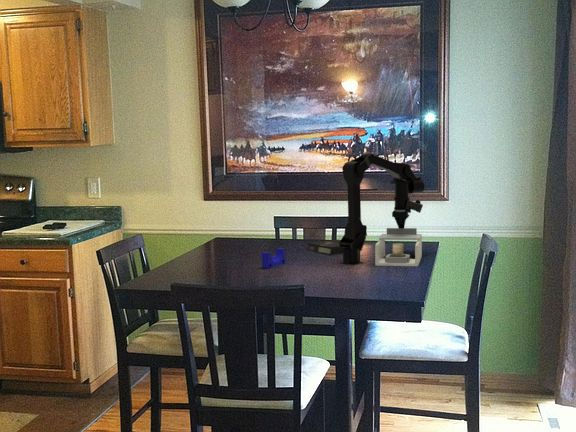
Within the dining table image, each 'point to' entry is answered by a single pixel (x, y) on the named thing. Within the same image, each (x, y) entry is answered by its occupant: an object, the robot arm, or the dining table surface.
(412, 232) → the lid
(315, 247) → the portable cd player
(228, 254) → the dining table surface
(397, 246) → the jaw peg
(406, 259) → the housing
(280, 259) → the cable clip
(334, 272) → the dining table surface
